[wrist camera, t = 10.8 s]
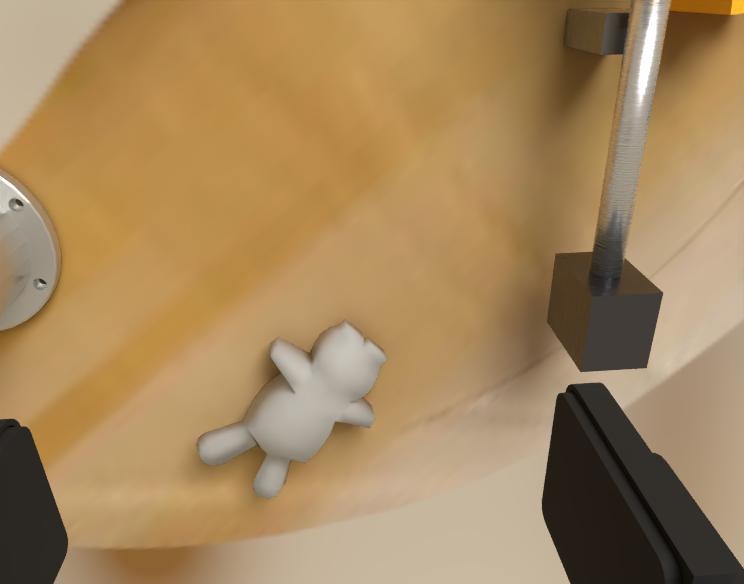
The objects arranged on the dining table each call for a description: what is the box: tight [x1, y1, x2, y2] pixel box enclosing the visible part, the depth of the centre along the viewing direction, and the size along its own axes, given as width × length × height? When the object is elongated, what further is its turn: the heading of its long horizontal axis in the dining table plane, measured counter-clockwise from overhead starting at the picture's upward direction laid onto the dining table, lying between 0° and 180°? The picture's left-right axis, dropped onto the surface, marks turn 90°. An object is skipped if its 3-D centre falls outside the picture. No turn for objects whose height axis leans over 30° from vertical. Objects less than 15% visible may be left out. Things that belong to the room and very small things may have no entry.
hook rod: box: [547, 0, 671, 372], centre depth 33 cm, size 23×4×6 cm, turn 1°
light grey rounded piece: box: [197, 320, 387, 499], centre depth 45 cm, size 10×5×15 cm
